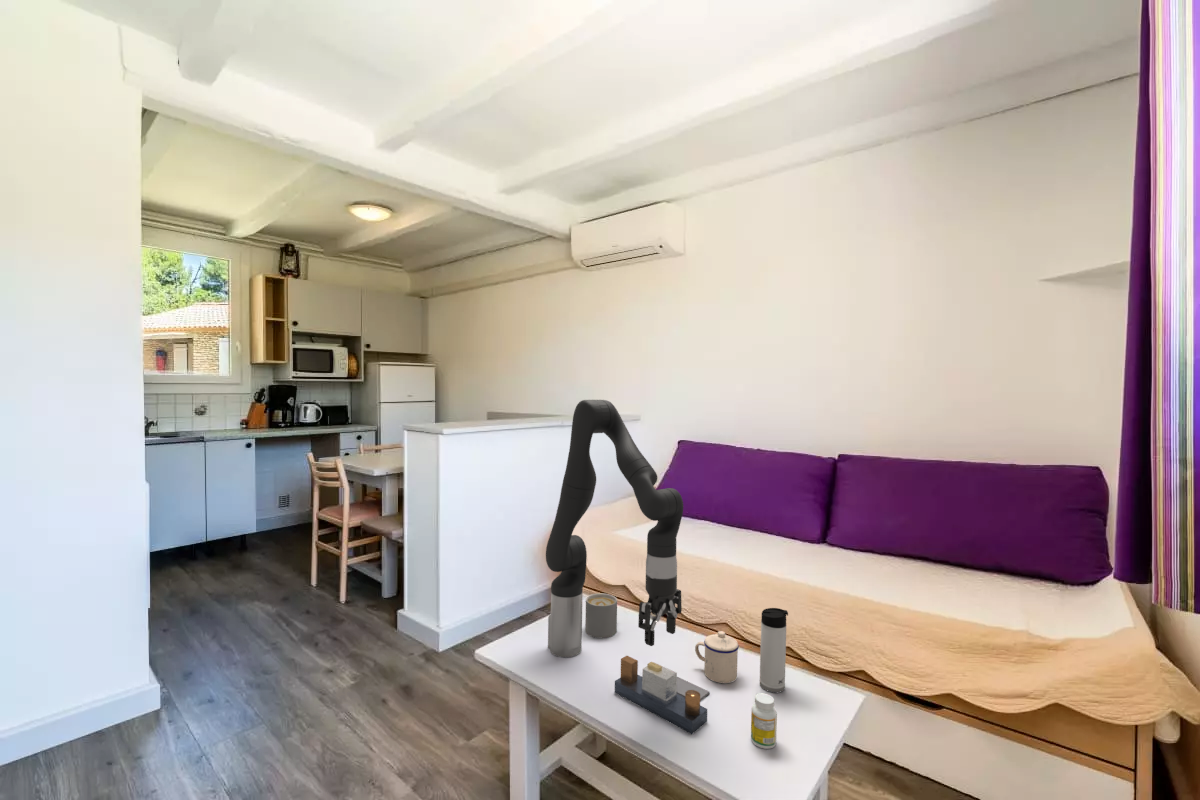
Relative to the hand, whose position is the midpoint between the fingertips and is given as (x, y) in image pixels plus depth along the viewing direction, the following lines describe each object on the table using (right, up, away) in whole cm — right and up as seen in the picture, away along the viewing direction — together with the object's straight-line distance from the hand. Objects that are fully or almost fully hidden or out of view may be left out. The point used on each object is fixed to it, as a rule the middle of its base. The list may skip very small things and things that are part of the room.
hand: (660, 638), depth 127 cm
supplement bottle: (+21, -18, -12) cm, 30 cm away
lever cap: (0, -13, 0) cm, 13 cm away
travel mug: (+30, -17, +10) cm, 36 cm away
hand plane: (0, -17, 0) cm, 17 cm away
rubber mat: (+7, -17, +8) cm, 20 cm away
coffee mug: (-13, -16, +41) cm, 46 cm away
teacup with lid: (+17, -17, +16) cm, 29 cm away
